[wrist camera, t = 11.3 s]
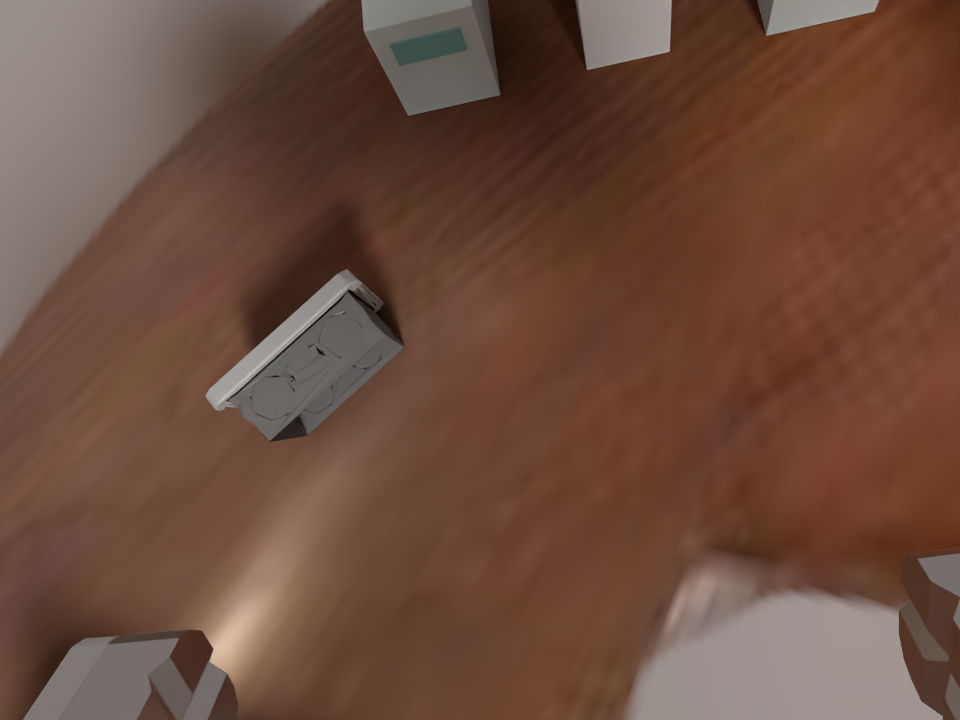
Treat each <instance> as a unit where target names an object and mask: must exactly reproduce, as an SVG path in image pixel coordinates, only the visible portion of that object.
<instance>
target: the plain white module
mask: <svg viewBox="0 0 960 720" xmlns="http://www.w3.org/2000/svg"><path fill="white" fill-rule="evenodd" d="M575 2H576V8H577V14H578V20H579V26H580V32H581V38H582V44H583V49H584V55H585V61H586V67H587V70H590V69H595V68H599V67H603V66H608V65H612V64H617V63H621V62H626V61H630V60H635V59H639V58H644V57H648V56H653V55H657V54H662V53H666V52H670V31H671V4H672V0H575Z"/></svg>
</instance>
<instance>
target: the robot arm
mask: <svg viewBox="0 0 960 720" xmlns="http://www.w3.org/2000/svg"><path fill="white" fill-rule="evenodd" d="M901 582H902V584H903V586H904V588H905V589H906V591H907V593H908V595H909V597H910V600H909V601H908V602H907V603H906V604H905V605H904V606H903V607H902V608H901V609H900V610H899V636H900V641H901V646H902V652H903V657H904V660H905V663H906V666H907V669H908V672H909V674H910V677H911V680H912V682H913V684H914V686H915V688H916V690H917V692H918V695H919V697H920V699H921V701H922V702H923V703H925V704H926V705H928V706H929V707H931V708H932V709H933V710H935V711H936V712H937V713H939V714H940V715H942V716H943V720H960V547H956V548H947V549H939V550H930V551H921V552H913V553H906V555H905V557H904V559H903V561H902V567H901ZM212 652H213V648H212V646H211V644H210V643H209V641H208V640H207V638H206V637H205V635H204V633H203V632H202V631H199V630H178V631H165V632H153V633H140V634H127V635H119V636H110V637H97V638H85V639H83V640H82V641H80V642H79V643H77V644H76V645H74V646H73V647H71V649H70V650H69V652H68V653H67V655H66V656H65V658H64V659H63V661H62V662H61V664H60V665H59V667H58V668H57V670H56V671H55V673H54V674H53V676H52V677H51V678H50V680H49V681H48V683H47V684H46V686H45V687H44V689H43V690H42V692H41V693H40V695H39V696H38V698H37V699H36V701H35V702H34V704H33V705H32V707H31V708H30V710H29V711H28V713H27V714H26V716H25V717H24V719H23V720H237V711H238V702H237V697H236V693H235V688H234V686H233V684H232V682H231V680H230V678H229V676H228V674H227V673H226V672H224V671H222V670H221V669H219V668H218V667H216V666H214V665H213V664H211V663H210V662H209V660H210V657H211V654H212Z"/></svg>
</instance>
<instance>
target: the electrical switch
mask: <svg viewBox="0 0 960 720" xmlns="http://www.w3.org/2000/svg"><path fill="white" fill-rule="evenodd" d="M383 304H384V302H383V301H382V300H381V299H380V298H379V297H377V296H376V295H375V294H374V293H373V292H372V291H371V290H370V289H369V288H368V287H366V286H365V285H364V284H363V283H362V282H361V281H360V280H359V279H357V278H356V277H355V276H354V275H353V274H352V273H351V272H350V271H349V270H347V269H346V270H344V271H342V272H340V273H338V274H336V275H335V276H334V277H333V278H332V279H331V280H330V281H329V282H328V283H327V284H325V285H324V286H323V287H322V288H321V289H320V290H319V291H318V292H317V293H315V294H314V295H313V296H312V297H311V298H310V299H309V300H308V301H307V302H305V303H304V304H303V305H302V306H301V307H300V308H299V309H298V310H297V311H295V312H294V313H293V314H292V315H291V316H290V317H289V318H288V319H287V320H286V321H284V322H283V323H282V324H281V325H280V326H279V327H278V328H277V329H276V330H274V331H273V332H272V333H271V334H270V335H269V336H268V337H267V338H266V339H264V340H263V341H262V342H261V343H260V344H259V345H258V346H257V347H256V348H254V349H253V350H252V351H251V352H250V353H249V354H248V355H247V356H246V357H245V358H243V359H242V360H241V361H240V362H239V363H238V364H237V365H236V366H235V367H233V368H232V369H231V370H230V371H229V372H228V373H227V374H226V375H225V376H223V377H222V378H221V379H220V380H219V381H218V382H217V383H216V384H215V385H213V386H212V387H211V388H210V389H209V391H208V393H207V394H206V398H207V399H208V401H209V402H210V403H211V405H212V406H213V407H214V408H215V409H216V410H219V411H220V410H224V408H225V407H236V408H237V409H238V411H239V412H240V413H241V415H242V416H243V417H244V418H246V419H247V420H248V421H250V422H251V423H253V424H254V425H255V426H256V428H257V429H258V430H259V431H260V432H261V433H262V435H263V436H264V437H265V438H266V439H267V440H268V441H269V442H272V441H278V440H284V439H290V438H296V437H302V436H307V434H309V433H310V432H311V431H312V430H314V429H315V428H316V427H317V426H318V425H319V424H320V423H321V422H322V421H323V420H325V419H326V418H327V417H328V416H329V415H330V414H331V413H332V412H333V411H334V410H336V409H337V408H338V407H339V406H340V405H341V404H342V403H343V402H344V401H345V400H346V399H348V398H349V397H350V396H351V395H352V394H353V393H354V392H355V391H356V390H357V389H359V388H360V387H361V386H362V385H363V384H364V383H365V382H366V381H367V380H368V379H370V378H371V377H372V376H373V375H374V374H375V373H376V372H377V371H378V370H379V369H380V368H382V367H383V366H384V365H385V364H386V363H387V362H388V361H389V360H390V359H391V358H393V357H394V356H395V355H396V354H397V353H398V352H399V351H400V350H401V349H402V348H403V347H404V346H403V345H402V343H401V342H400V341H399V340H398V339H397V337H396V336H395V335H394V334H393V333H392V332H391V327H389V326H387V325H386V324H385V323H384V322H383V321H382V320H381V319H380V318H379V317H378V315H377V314H376V312H377V311H378V310H380V308H381V307H382V305H383ZM379 358H380V361H378V360H379ZM353 365H354V366H356V367H353ZM357 367H358V368H357ZM367 367H369V368H367ZM363 368H367V369H363ZM331 385H332V388H331ZM331 403H332V405H330V404H331ZM329 405H330V406H329ZM308 411H309V412H308ZM268 419H269V420H268ZM297 423H298V424H299V425H300V426H301V427H302V428H303V429H304V431H305V432H306V433H307V434H306V433H305V432H304V431H303V430H302V428H301V427H300V426H299V425H298V424H297Z"/></svg>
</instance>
